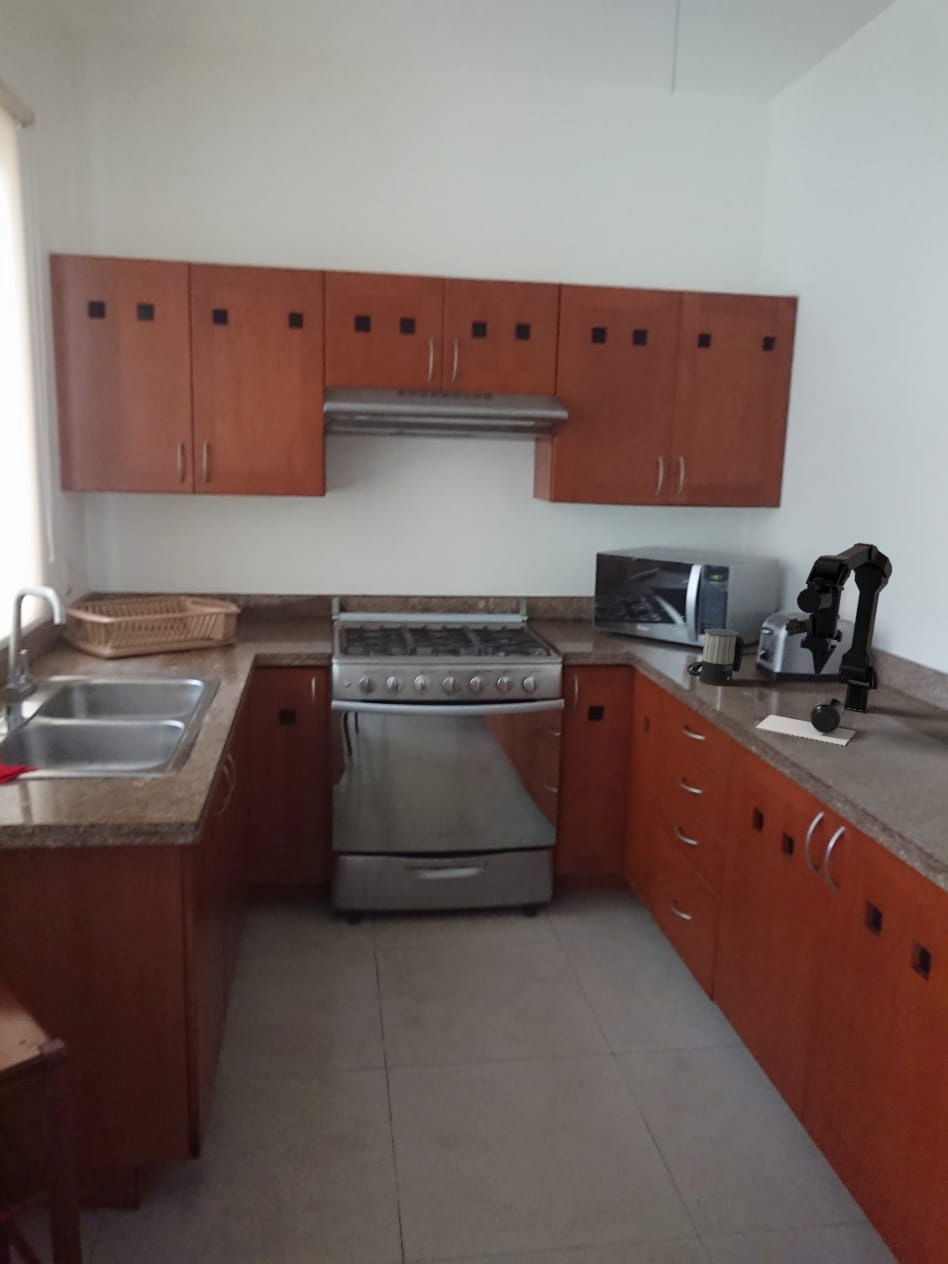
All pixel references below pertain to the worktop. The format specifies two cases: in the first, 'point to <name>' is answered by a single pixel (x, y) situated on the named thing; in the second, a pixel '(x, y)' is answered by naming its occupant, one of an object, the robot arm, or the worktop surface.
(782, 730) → the mat
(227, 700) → the worktop surface
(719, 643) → the milk frother
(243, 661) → the worktop surface
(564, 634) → the worktop surface
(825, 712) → the supplement bottle
